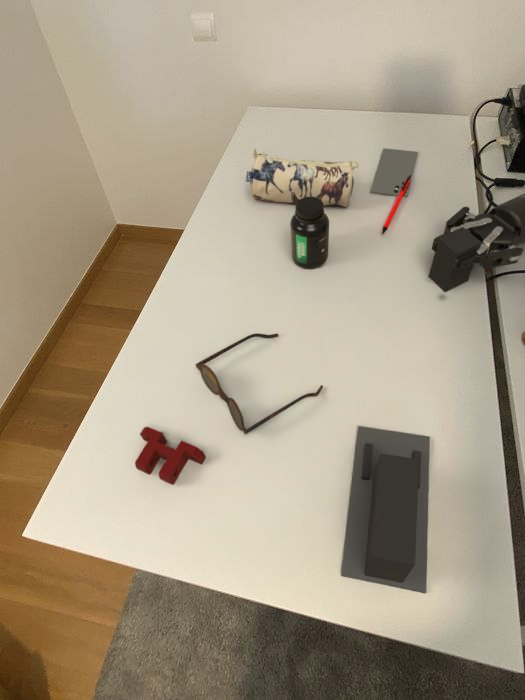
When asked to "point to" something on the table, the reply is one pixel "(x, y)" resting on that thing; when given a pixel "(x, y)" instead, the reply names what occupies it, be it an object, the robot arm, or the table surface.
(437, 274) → the black rectangular box
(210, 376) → the eyeglasses
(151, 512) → the table surface
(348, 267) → the table surface
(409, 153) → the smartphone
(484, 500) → the table surface
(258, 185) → the pencil case
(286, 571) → the table surface
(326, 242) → the supplement bottle
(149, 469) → the bracket
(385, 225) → the pen
